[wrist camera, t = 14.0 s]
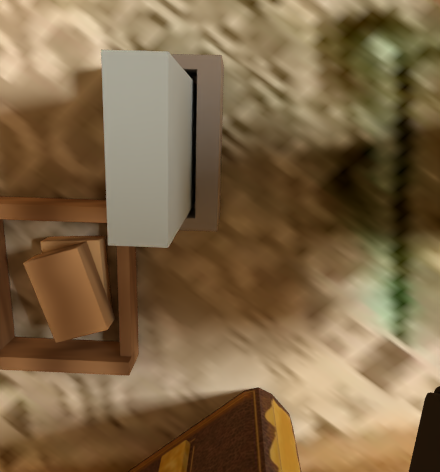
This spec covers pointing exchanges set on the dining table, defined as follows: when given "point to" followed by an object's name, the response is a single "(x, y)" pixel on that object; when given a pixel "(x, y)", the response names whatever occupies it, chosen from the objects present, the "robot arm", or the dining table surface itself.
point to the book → (233, 440)
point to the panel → (147, 146)
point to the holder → (206, 139)
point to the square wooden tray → (69, 351)
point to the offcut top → (70, 292)
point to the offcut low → (96, 248)
